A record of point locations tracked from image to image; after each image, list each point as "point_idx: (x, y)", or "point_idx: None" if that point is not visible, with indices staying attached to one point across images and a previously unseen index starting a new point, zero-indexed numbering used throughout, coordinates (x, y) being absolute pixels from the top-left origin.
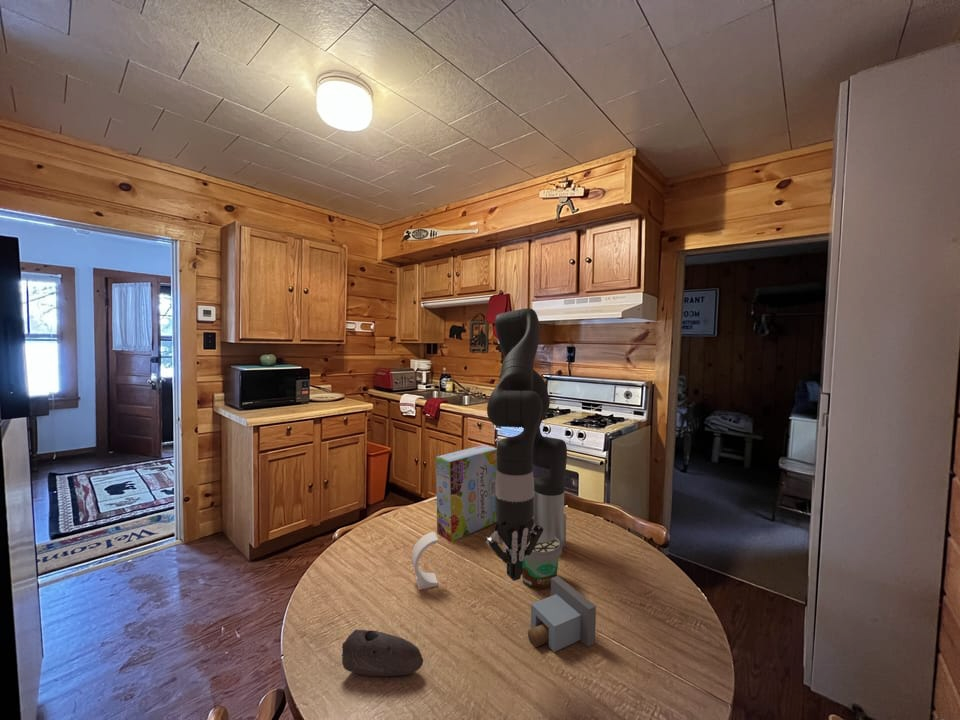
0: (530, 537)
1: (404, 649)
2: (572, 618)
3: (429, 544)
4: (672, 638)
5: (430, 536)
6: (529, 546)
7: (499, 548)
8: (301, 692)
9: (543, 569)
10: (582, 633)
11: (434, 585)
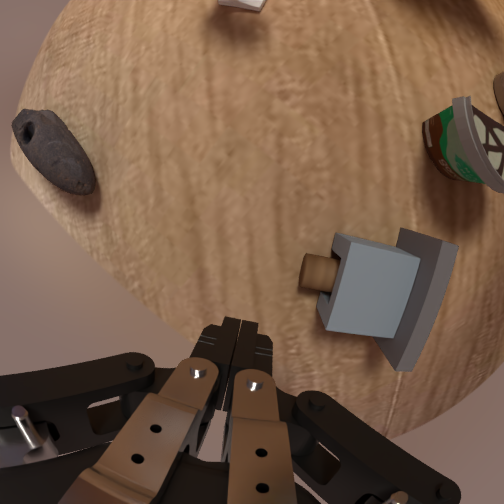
0: (346, 491)
1: (52, 181)
2: (373, 335)
3: None
4: (448, 378)
5: None
6: (300, 475)
7: (61, 449)
8: None
9: (465, 170)
10: None
11: (251, 8)
